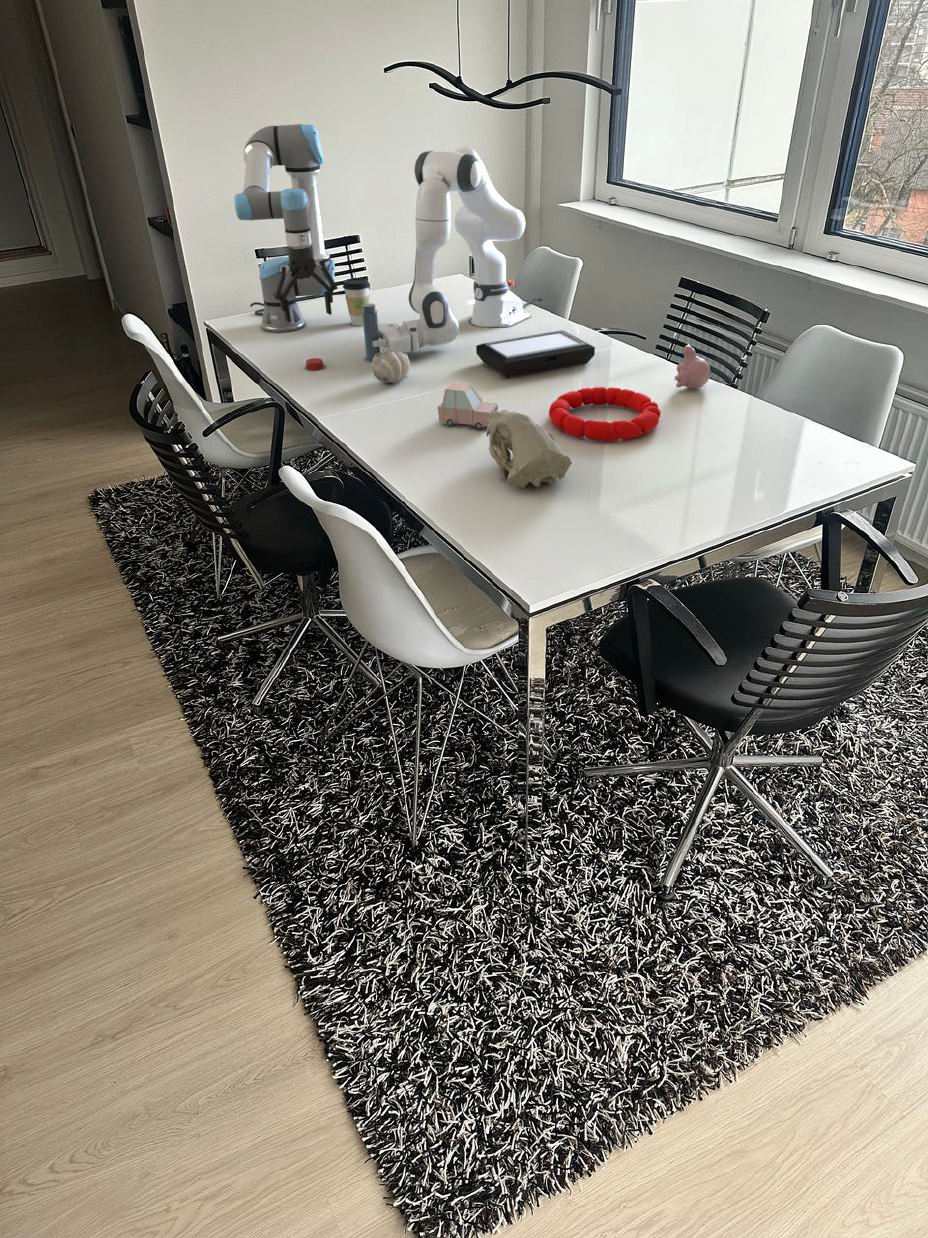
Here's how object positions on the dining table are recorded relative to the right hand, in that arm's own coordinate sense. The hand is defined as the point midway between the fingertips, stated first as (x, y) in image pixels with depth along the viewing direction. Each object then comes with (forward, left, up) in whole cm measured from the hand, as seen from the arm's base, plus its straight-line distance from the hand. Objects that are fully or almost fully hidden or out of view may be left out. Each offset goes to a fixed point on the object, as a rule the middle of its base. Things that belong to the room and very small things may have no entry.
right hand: (369, 339), depth 290 cm
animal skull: (+29, +94, -6) cm, 99 cm away
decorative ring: (-9, +90, -6) cm, 91 cm away
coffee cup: (-23, -35, -6) cm, 42 cm away
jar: (-1, 0, -6) cm, 6 cm away
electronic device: (-32, +44, -6) cm, 55 cm away
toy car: (+17, +63, -6) cm, 66 cm away
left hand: (+17, -8, +9) cm, 21 cm away
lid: (+17, -7, -4) cm, 19 cm away
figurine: (-46, +93, -6) cm, 104 cm away
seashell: (+9, +23, -6) cm, 25 cm away
